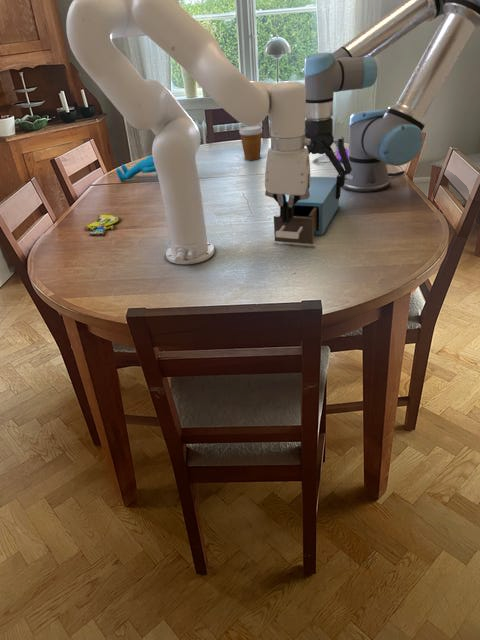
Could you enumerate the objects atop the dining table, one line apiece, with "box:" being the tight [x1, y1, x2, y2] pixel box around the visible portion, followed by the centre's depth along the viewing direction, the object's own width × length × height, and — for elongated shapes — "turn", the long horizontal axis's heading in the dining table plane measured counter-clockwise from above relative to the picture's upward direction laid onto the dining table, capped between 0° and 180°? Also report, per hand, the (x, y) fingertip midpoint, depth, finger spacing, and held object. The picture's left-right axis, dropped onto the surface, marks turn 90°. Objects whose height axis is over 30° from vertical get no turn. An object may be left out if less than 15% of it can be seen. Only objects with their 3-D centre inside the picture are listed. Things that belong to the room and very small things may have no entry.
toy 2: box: [115, 154, 158, 182], centre depth 182 cm, size 17×11×30 cm
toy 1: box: [85, 214, 120, 236], centre depth 147 cm, size 10×1×15 cm
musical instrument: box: [313, 146, 349, 164], centre depth 191 cm, size 24×2×20 cm
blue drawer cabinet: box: [286, 176, 340, 236], centre depth 136 cm, size 22×11×9 cm, turn 159°
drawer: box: [273, 205, 319, 245], centre depth 127 cm, size 26×10×7 cm, turn 159°
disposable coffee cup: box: [238, 124, 263, 161], centre depth 196 cm, size 10×10×12 cm
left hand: (286, 220), depth 118 cm, fingers closed
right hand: (318, 196), depth 142 cm, fingers closed on blue drawer cabinet, 11 cm apart
